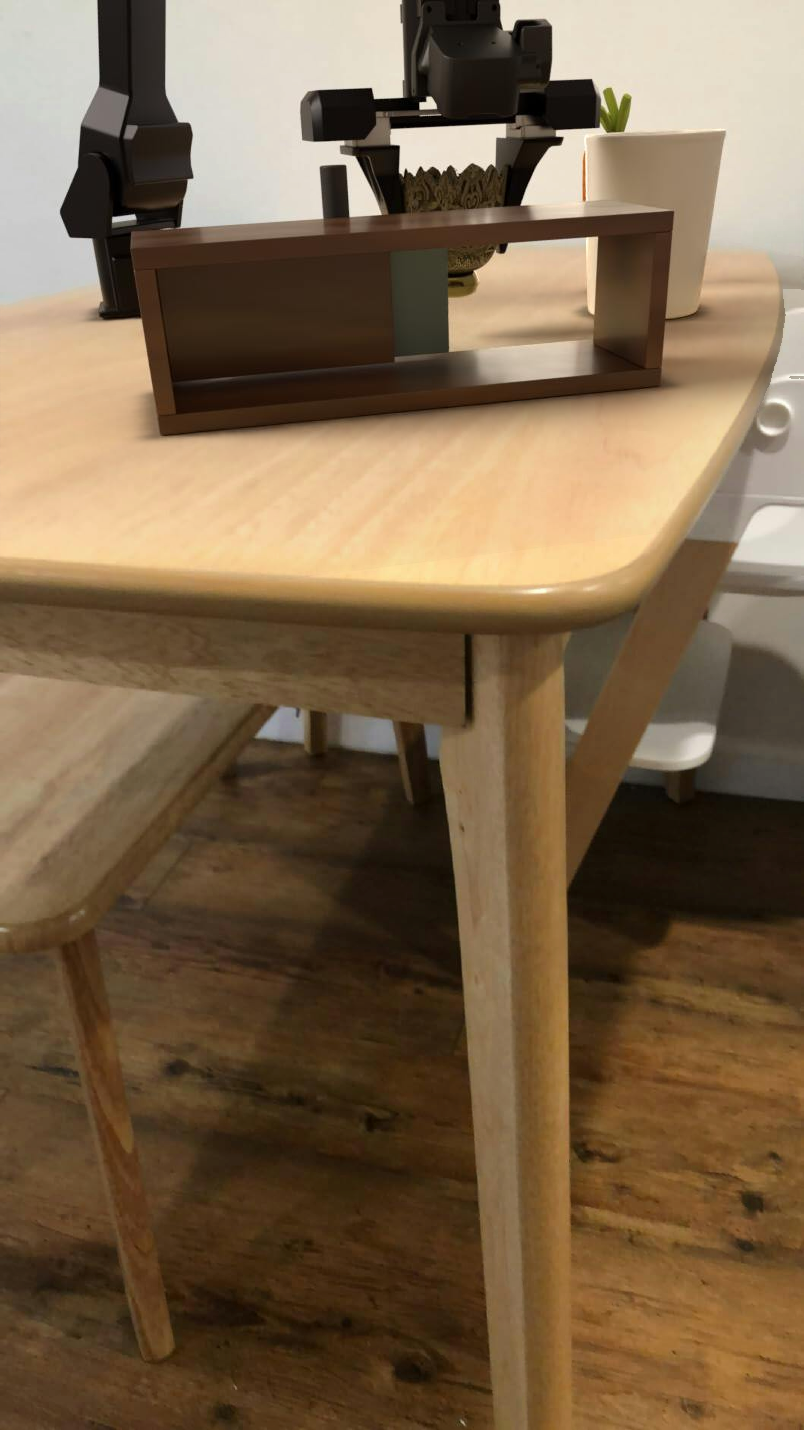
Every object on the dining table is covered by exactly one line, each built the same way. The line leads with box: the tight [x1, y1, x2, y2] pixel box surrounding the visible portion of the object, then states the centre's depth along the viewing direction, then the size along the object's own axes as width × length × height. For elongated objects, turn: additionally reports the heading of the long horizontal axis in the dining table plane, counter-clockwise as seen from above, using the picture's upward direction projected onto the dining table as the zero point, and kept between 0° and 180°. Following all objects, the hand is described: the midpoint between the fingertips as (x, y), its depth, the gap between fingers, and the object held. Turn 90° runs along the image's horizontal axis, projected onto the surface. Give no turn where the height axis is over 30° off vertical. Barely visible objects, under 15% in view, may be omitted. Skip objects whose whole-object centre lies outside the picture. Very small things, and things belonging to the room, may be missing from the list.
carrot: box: [581, 87, 633, 202], centre depth 87 cm, size 5×5×15 cm
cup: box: [399, 162, 508, 299], centre depth 71 cm, size 8×7×8 cm
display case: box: [131, 200, 674, 436], centre depth 59 cm, size 10×28×9 cm, turn 103°
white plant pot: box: [584, 128, 727, 320], centre depth 77 cm, size 10×10×12 cm
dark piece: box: [319, 164, 450, 357], centre depth 62 cm, size 5×13×10 cm, turn 103°
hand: (451, 256), depth 71 cm, fingers closed on cup, 7 cm apart
